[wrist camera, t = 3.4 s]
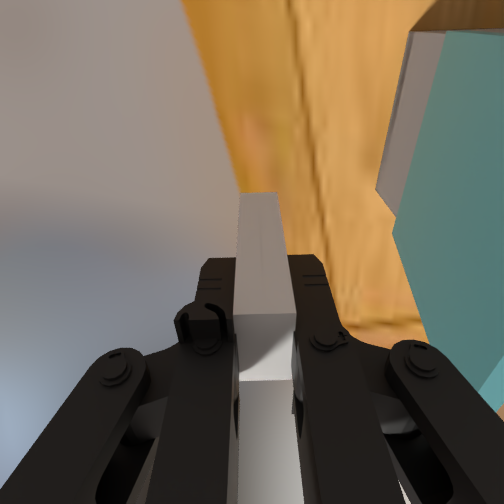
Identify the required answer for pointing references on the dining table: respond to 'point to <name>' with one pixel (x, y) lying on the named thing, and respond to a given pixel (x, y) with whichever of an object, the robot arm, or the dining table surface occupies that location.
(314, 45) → the dining table surface
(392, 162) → the box
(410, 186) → the lid
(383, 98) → the dining table surface
